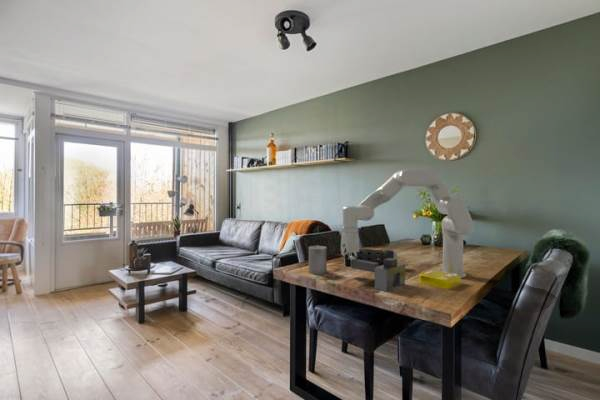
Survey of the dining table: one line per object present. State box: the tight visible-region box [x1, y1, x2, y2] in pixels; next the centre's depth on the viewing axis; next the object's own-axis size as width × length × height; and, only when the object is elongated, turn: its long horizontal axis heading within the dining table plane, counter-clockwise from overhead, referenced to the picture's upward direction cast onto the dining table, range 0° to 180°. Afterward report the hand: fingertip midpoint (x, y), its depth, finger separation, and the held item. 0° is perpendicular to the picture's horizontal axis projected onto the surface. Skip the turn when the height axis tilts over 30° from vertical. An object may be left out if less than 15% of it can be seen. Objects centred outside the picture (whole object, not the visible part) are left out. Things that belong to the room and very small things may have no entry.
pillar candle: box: [308, 244, 328, 275], centre depth 166 cm, size 10×10×15 cm
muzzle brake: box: [347, 248, 398, 266], centre depth 180 cm, size 10×28×10 cm, turn 73°
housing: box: [374, 258, 406, 292], centre depth 141 cm, size 16×6×12 cm, turn 134°
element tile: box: [418, 269, 462, 290], centre depth 147 cm, size 15×15×5 cm
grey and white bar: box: [343, 256, 379, 274], centre depth 153 cm, size 4×18×5 cm, turn 43°
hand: (350, 265), depth 158 cm, fingers closed on grey and white bar, 4 cm apart
